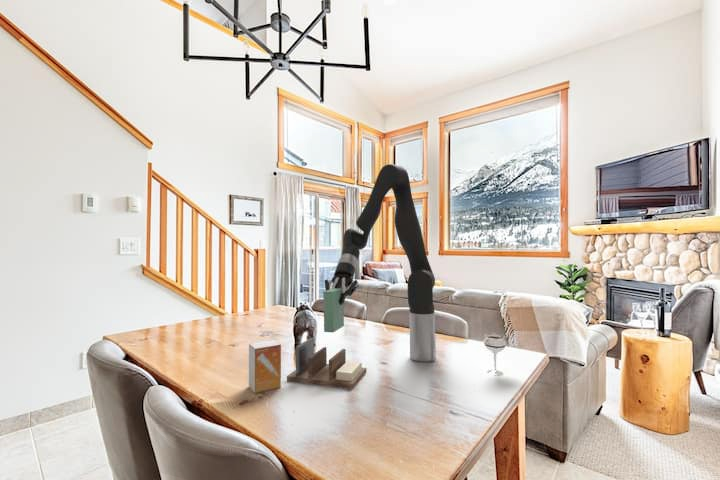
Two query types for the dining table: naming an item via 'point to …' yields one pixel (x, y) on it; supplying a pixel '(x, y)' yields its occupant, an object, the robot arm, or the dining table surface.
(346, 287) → the robot arm
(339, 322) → the book
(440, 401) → the dining table surface
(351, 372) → the toppled book
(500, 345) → the wineglass
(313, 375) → the book rack
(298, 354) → the bookend
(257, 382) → the small box
